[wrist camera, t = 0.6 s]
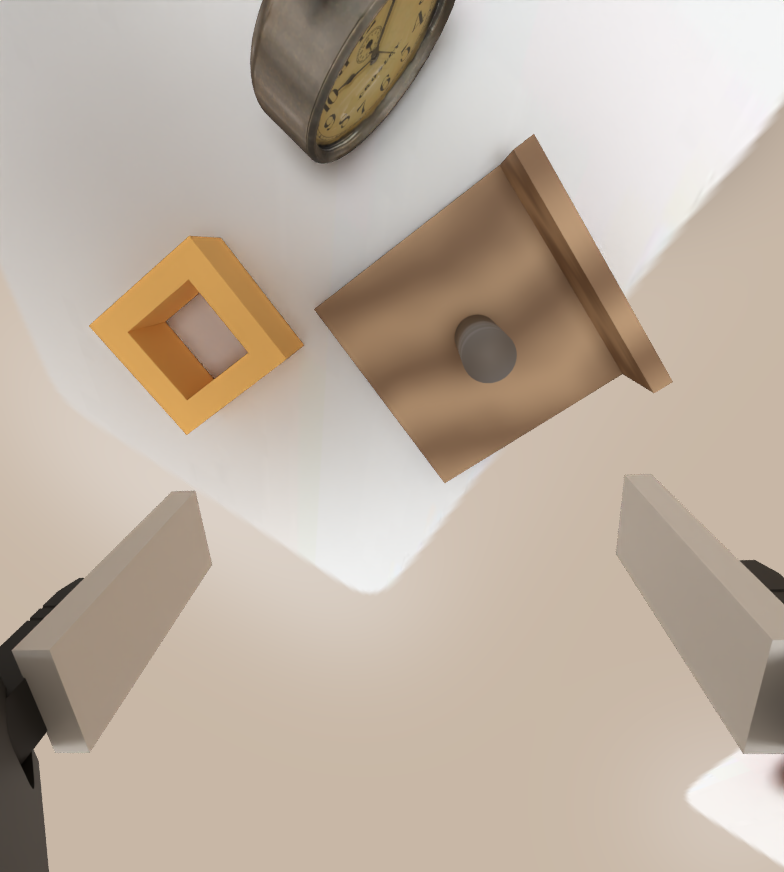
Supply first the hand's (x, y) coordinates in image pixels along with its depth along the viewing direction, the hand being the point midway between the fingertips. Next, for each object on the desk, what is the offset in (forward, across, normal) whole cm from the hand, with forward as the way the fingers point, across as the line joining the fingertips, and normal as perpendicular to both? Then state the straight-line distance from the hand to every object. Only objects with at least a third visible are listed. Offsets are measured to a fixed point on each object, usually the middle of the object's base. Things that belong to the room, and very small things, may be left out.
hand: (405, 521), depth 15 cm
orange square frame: (+22, -14, +3) cm, 27 cm away
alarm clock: (+23, -2, +18) cm, 29 cm away
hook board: (+22, +4, +2) cm, 23 cm away
